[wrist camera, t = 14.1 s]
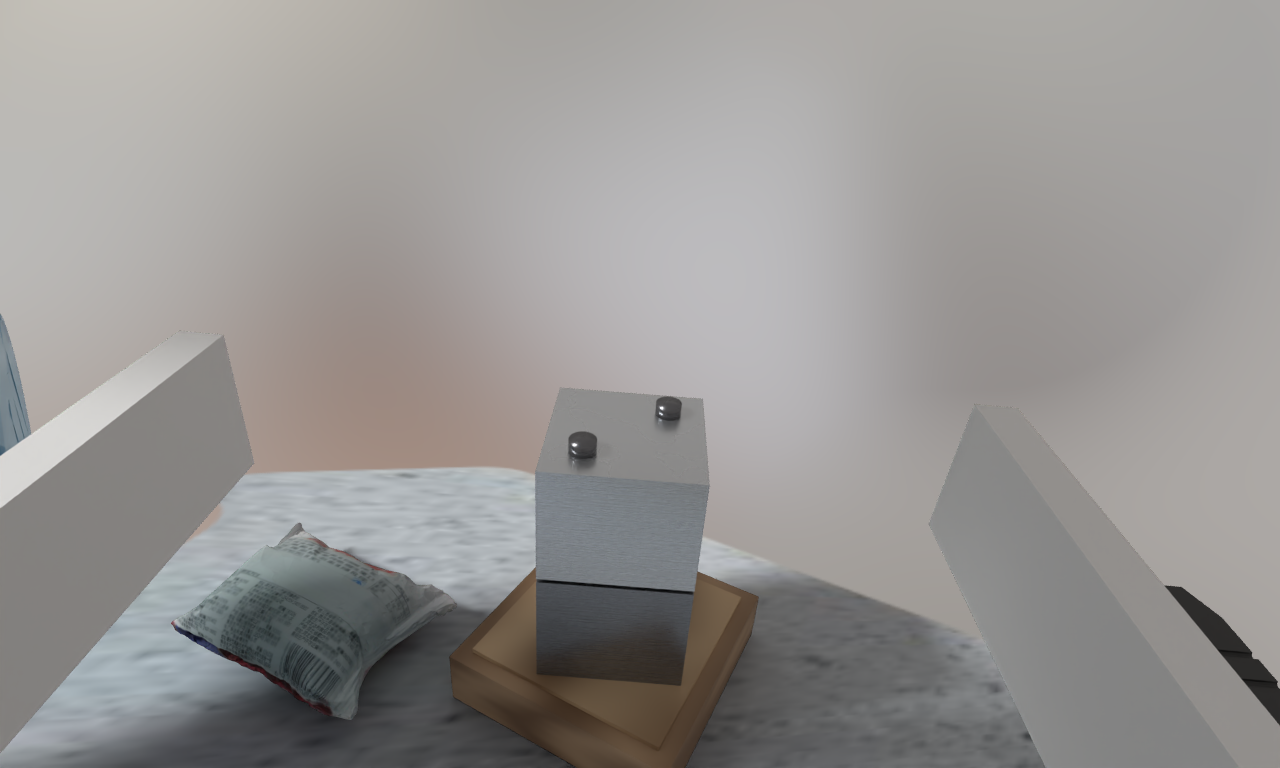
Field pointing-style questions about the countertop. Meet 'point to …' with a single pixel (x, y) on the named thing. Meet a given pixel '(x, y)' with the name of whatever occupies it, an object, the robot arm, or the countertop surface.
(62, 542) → the robot arm
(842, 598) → the countertop surface
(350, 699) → the packaged food
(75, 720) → the countertop surface
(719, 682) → the stand
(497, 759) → the countertop surface
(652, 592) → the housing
